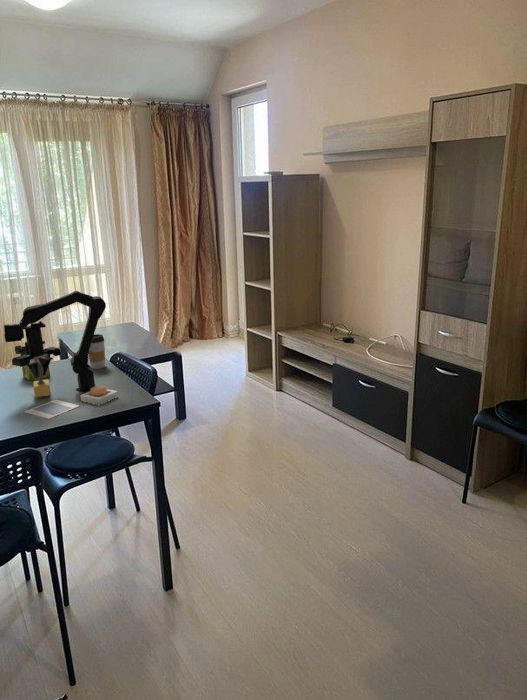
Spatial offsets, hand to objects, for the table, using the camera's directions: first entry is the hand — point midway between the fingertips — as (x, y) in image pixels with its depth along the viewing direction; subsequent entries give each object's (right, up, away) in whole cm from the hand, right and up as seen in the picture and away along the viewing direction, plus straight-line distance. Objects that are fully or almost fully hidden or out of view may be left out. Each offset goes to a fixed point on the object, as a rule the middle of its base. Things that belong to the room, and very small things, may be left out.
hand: (40, 376), depth 215 cm
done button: (+25, -6, -4) cm, 26 cm away
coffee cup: (+11, +3, +38) cm, 40 cm away
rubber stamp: (0, -6, +2) cm, 7 cm away
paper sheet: (+10, -12, -12) cm, 20 cm away
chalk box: (-12, -1, +27) cm, 29 cm away
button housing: (+25, -9, -3) cm, 27 cm away
